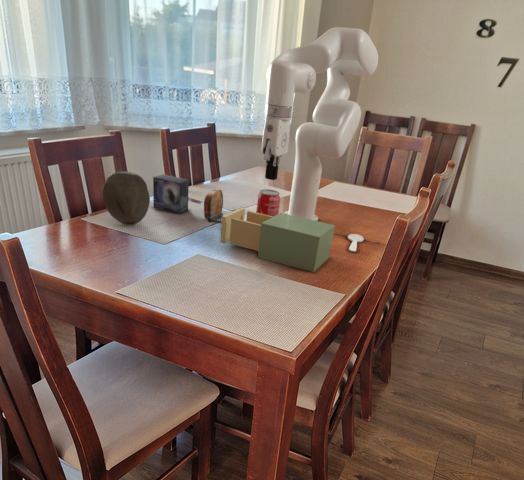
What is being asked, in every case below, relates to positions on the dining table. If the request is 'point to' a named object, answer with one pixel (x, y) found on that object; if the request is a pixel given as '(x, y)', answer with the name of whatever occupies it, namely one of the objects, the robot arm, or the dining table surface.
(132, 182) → the cantaloupe
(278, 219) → the cabinet
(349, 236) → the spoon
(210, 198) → the tin
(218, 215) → the drawer
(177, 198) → the small box
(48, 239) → the dining table surface
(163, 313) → the dining table surface
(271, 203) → the soda can
